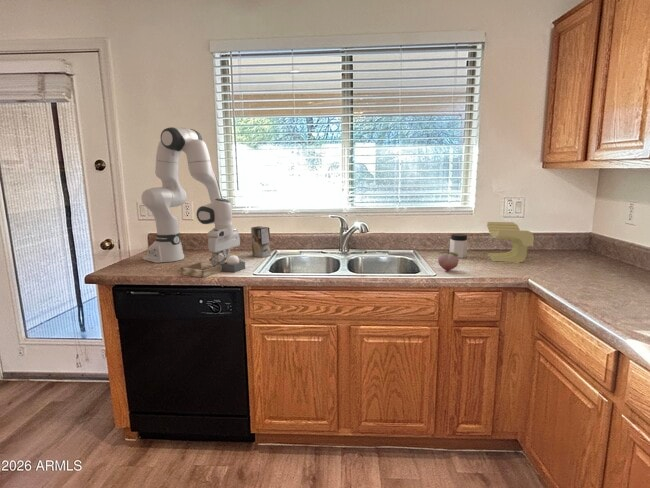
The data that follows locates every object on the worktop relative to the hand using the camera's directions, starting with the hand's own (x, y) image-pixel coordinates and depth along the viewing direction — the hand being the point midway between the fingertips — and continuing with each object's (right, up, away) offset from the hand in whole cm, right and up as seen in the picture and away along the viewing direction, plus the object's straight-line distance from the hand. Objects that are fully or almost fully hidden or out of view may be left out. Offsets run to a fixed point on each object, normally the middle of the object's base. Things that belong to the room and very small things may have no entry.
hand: (225, 257), depth 197 cm
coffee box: (+15, 0, +21) cm, 26 cm away
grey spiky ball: (-3, -5, -4) cm, 7 cm away
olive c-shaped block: (+146, -1, +6) cm, 146 cm away
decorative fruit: (+109, -6, -15) cm, 110 cm away
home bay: (-8, -7, -15) cm, 18 cm away
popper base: (+6, -5, -9) cm, 12 cm away
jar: (+123, 0, +14) cm, 124 cm away
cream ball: (+6, -5, -9) cm, 12 cm away
